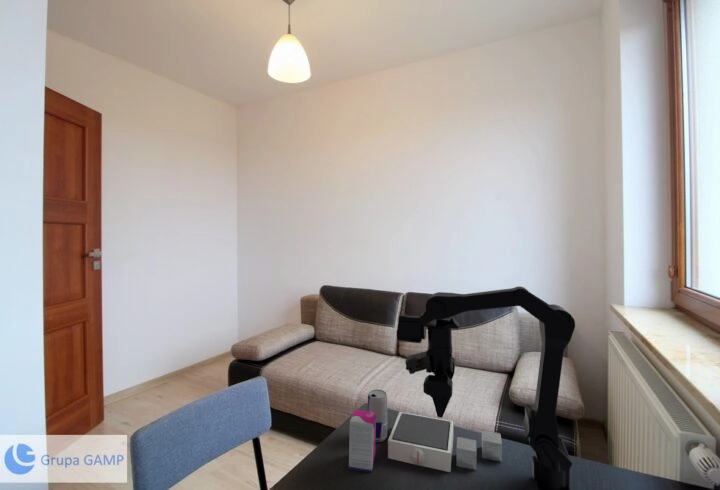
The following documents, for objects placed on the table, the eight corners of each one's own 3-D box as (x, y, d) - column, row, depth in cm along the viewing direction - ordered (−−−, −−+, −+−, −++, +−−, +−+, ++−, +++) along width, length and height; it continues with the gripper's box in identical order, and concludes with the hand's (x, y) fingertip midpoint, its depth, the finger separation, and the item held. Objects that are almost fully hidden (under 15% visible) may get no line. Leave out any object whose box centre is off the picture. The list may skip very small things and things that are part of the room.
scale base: (453, 437, 88) (453, 421, 88) (450, 473, 74) (450, 454, 74) (399, 427, 93) (399, 411, 93) (387, 459, 79) (387, 441, 79)
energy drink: (364, 433, 90) (364, 391, 90) (381, 429, 92) (381, 387, 92) (373, 444, 85) (373, 400, 85) (390, 439, 87) (390, 395, 87)
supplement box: (372, 472, 75) (372, 424, 75) (348, 469, 76) (348, 421, 76) (376, 456, 80) (376, 411, 80) (353, 453, 82) (353, 408, 81)
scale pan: (449, 424, 87) (449, 421, 87) (446, 452, 76) (446, 448, 76) (402, 416, 92) (402, 413, 92) (392, 441, 80) (392, 437, 80)
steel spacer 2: (500, 450, 83) (500, 433, 82) (501, 462, 78) (502, 444, 78) (481, 447, 84) (481, 430, 84) (482, 458, 80) (482, 440, 80)
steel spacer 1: (475, 458, 80) (476, 440, 80) (476, 470, 76) (476, 451, 75) (457, 454, 81) (457, 436, 81) (456, 466, 77) (456, 447, 77)
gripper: (413, 332, 90) (414, 387, 91) (400, 354, 73) (402, 422, 73) (454, 334, 87) (455, 391, 87) (450, 359, 69) (452, 430, 69)
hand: (441, 407), depth 79 cm, fingers open, 9 cm apart
